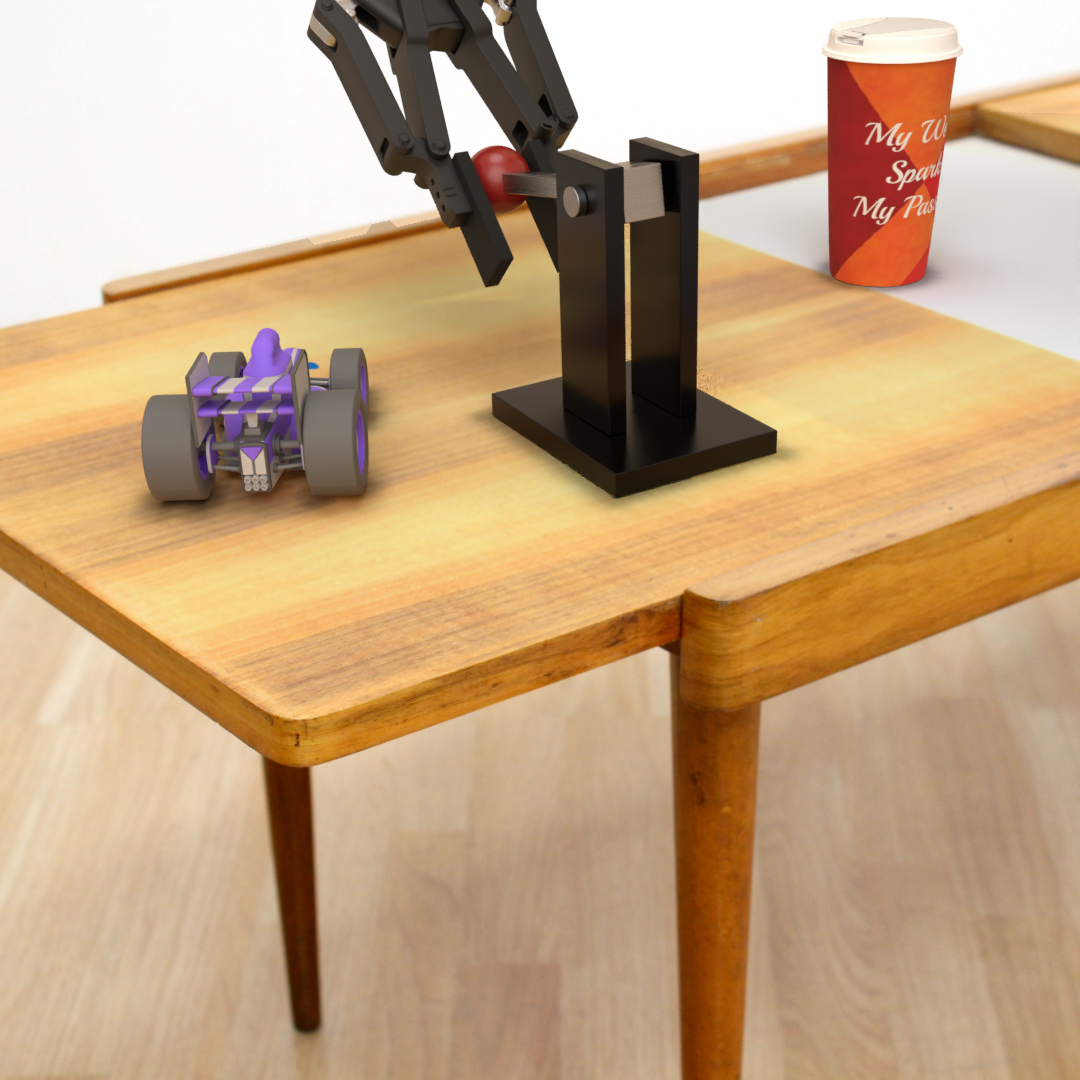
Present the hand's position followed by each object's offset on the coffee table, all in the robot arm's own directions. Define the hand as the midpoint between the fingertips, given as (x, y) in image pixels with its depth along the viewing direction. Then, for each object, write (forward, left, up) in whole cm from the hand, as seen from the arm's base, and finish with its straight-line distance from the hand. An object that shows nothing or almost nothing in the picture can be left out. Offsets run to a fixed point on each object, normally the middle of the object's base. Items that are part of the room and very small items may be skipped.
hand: (535, 264), depth 81 cm
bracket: (-5, +7, -6) cm, 11 cm away
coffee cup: (-20, -19, -6) cm, 28 cm away
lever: (-1, +2, +3) cm, 4 cm away
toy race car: (+12, +9, -6) cm, 17 cm away
